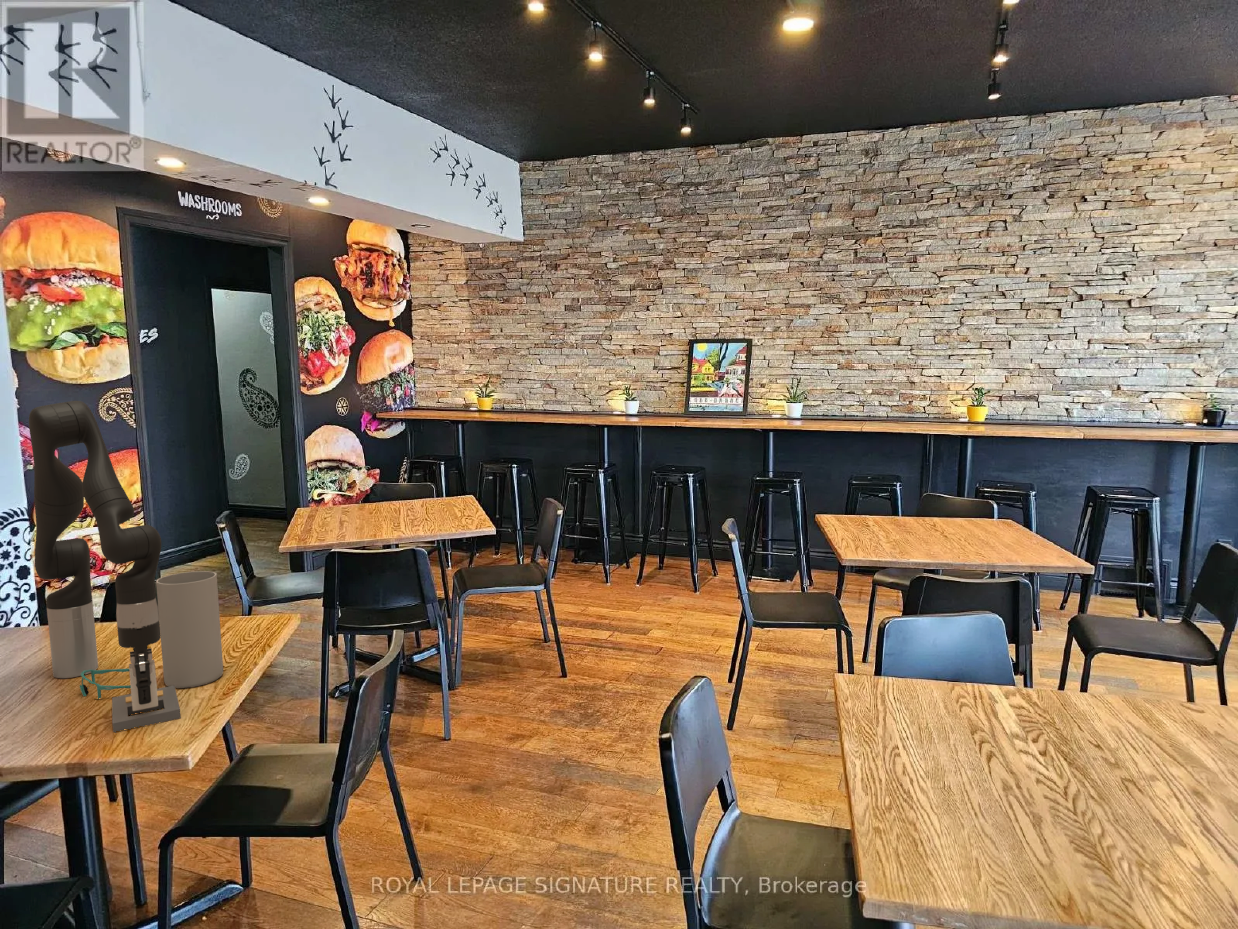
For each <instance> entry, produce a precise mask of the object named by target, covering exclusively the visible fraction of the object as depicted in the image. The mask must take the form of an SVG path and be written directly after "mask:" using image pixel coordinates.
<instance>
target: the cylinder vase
mask: <svg viewBox="0 0 1238 929" xmlns="http://www.w3.org/2000/svg"><path fill="white" fill-rule="evenodd" d="M217 577H218V576H217V572H214V571H208V570H206V571H205V570H200V571H199V570H196V571H185V572H179V573H178V572H177V573H175V574H174V573H173V574H168V575H166V576H162V577H159V578H157V579H156V582H155V586H156V599H157V605H158V611H159V624H160V636H161V638H160V648H161V660H162V669H163V670H162V672H163V681H164V684H165V685H166V687H168V686H173V685H175V689H189V688H197V687H201V686H204V685H208V684H210V683H212V682H215V681H217V680H218V679H220V678H221V677H222V675H223V674H224V661H223V646H222V632H221V620H220V618H221V617H220V616H221V615H220V607H219V606H220V603H219V602H220V601H219V590H218V578H217Z"/></svg>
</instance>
